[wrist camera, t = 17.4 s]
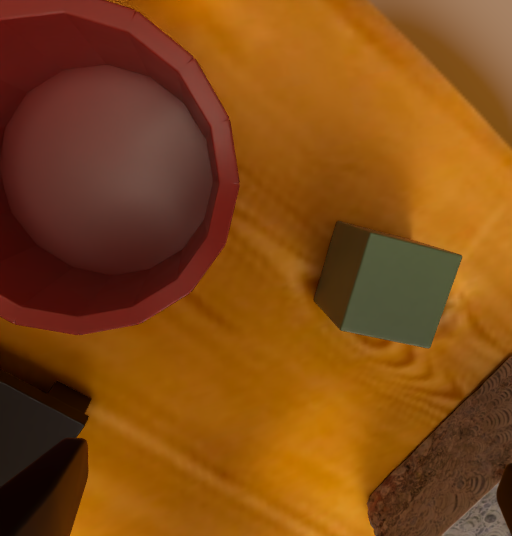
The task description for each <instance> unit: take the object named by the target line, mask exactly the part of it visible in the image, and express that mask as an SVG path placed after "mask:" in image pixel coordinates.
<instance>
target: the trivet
mask: <svg viewBox="0 0 512 536" xmlns="http://www.w3.org/2000/svg"><path fill="white" fill-rule="evenodd" d="M90 402H91V398H89V397H87V396H85V395H83V394H82V393H80V392H78V391H76V390H74V389H72V388H71V387H69V386H67V385H65V384H63V383H61V382H60V381H56V382H55V384H54V385H53V387H52V388H51V389H50V391H49V392H48V394H46V393H44V392H43V391H41V390H39V389H37V388H35V387H33V386H31V385H29V384H28V383H26V382H24V381H22V380H20V379H18V378H16V377H14V376H13V375H11V374H9V373H7V372H5V371H3V370H1V369H0V487H1V486H2V485H4V484H5V483H6V482H8V481H9V480H10V479H12V478H13V477H14V476H16V475H17V474H18V473H19V472H21V471H22V470H23V469H25V468H26V467H27V466H29V465H30V464H31V463H33V462H34V461H35V460H37V459H38V458H39V457H41V456H42V455H43V454H44V453H46V452H47V451H48V450H50V449H51V448H52V447H54V446H55V445H56V444H58V443H59V442H60V441H62V440H63V439H65V438H76V437H77V436H78V434H79V433H80V432H81V430H82V429H83V427H84V426H85V424H86V422H87V420H88V417H89V416H88V415H86V414H85V412H86V410H87V408H88V406H89V404H90Z"/></svg>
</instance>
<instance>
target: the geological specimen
mask: <svg viewBox="0 0 512 536" xmlns="http://www.w3.org/2000/svg"><path fill="white" fill-rule="evenodd" d="M509 463H512V356H511V357H510V358H509V359H508V360H507V361H506V362H505V363H504V364H503V365H502V366H501V367H500V368H499V369H498V370H497V371H496V372H495V373H494V374H493V375H492V376H491V377H489V378H488V379H487V380H486V381H485V382H484V384H483V385H482V386H481V387H480V388H479V389H478V390H477V391H476V392H475V393H473V394H472V395H471V396H470V397H469V398H468V399H467V400H465V401H464V402H463V403H462V404H461V405H460V406H459V407H458V408H457V409H456V410H455V411H454V412H453V413H452V414H451V415H450V416H449V417H448V418H447V419H446V420H445V421H444V422H443V423H442V424H441V425H440V426H439V427H438V428H437V429H436V430H435V431H434V432H433V433H432V434H431V435H430V436H429V437H428V438H427V439H426V440H425V441H424V442H423V443H422V444H421V445H420V446H419V447H418V448H417V449H416V450H415V451H414V452H413V453H412V454H411V456H410V457H409V458H407V459H406V460H405V461H404V462H403V463H402V464H401V465H400V466H399V467H398V468H397V469H395V470H394V471H393V472H392V473H391V474H390V475H389V476H388V477H387V478H386V479H385V481H384V482H383V483H382V484H381V485H380V486H379V487H378V488H377V489H376V490H375V491H374V492H373V493H372V495H371V496H370V498H369V500H368V502H367V506H368V518H369V521H370V524H371V526H372V527H373V528H374V533H375V535H376V536H511V534H510V531H509V529H508V527H507V524H506V522H505V519H504V517H503V515H502V512H501V510H500V508H499V505H498V502H497V498H496V491H497V488H498V485H499V482H500V480H501V477H502V474H503V472H504V469H505V467H506V465H507V464H509Z"/></svg>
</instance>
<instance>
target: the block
mask: <svg viewBox="0 0 512 536" xmlns="http://www.w3.org/2000/svg"><path fill="white" fill-rule="evenodd" d="M461 259H462V256H461V255H459V254H456V253H453V252H450V251H447V250H443V249H440V248H437V247H434V246H430V245H427V244H424V243H421V242H417V241H414V240H411V239H407V238H403V237H399V236H395V235H391V234H387V233H384V232H380V231H376V230H372V229H368V228H364V227H360V226H356V225H352V224H349V223H345V222H341V221H337V222H336V225H335V229H334V232H333V236H332V239H331V242H330V246H329V249H328V253H327V256H326V260H325V263H324V266H323V270H322V273H321V277H320V280H319V283H318V287H317V290H316V294H315V297H314V302H315V303H316V304H317V305H318V306H319V307H320V308H321V309H322V310H323V311H324V313H325V314H326V315H327V316H328V317H329V318H330V319H331V320H332V321H333V322H334V324H335V325H336V326H337V327H338V328H339V329H340V330H341V331H346V332H351V333H356V334H360V335H365V336H370V337H375V338H380V339H385V340H390V341H394V342H399V343H404V344H409V345H414V346H419V347H424V348H430V347H431V344H432V341H433V338H434V335H435V333H436V330H437V327H438V324H439V321H440V318H441V316H442V313H443V310H444V307H445V304H446V301H447V299H448V296H449V293H450V290H451V287H452V285H453V282H454V279H455V276H456V273H457V270H458V268H459V265H460V262H461Z"/></svg>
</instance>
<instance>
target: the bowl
mask: <svg viewBox="0 0 512 536" xmlns="http://www.w3.org/2000/svg"><path fill="white" fill-rule="evenodd" d="M239 182H240V181H239V175H238V168H237V162H236V155H235V149H234V142H233V136H232V129H231V122H230V120H229V116H228V115H227V113H226V111H225V109H224V108H223V106H222V104H221V102H220V101H219V99H218V97H217V96H216V94H215V92H214V90H213V89H212V87H211V85H210V83H209V82H208V80H207V78H206V76H205V75H204V73H203V71H202V69H201V68H200V66H199V64H198V62H197V61H196V59H193V56H192V55H191V54H190V53H188V52H187V51H186V50H185V49H183V48H182V47H181V46H180V45H179V44H177V43H176V42H175V41H174V40H172V39H171V38H170V37H169V36H168V35H166V34H165V33H164V32H163V31H161V30H160V29H159V28H158V27H156V26H155V25H154V24H153V23H152V22H150V21H149V20H148V19H147V18H145V17H144V16H143V15H142V14H140V13H139V12H136V11H135V10H134V9H131V8H128V7H125V6H121V5H118V4H115V3H112V2H109V1H106V0H0V317H2V318H4V319H6V320H8V321H9V322H11V323H15V324H16V325H21V326H27V327H33V328H39V329H45V330H50V331H56V332H62V333H68V334H74V335H84V334H89V333H94V332H100V331H105V330H111V329H116V328H122V327H127V326H133V325H138V324H139V323H143V322H144V321H146V320H147V319H149V318H151V317H152V316H154V315H156V314H157V313H159V312H160V311H162V310H164V309H165V308H167V307H168V306H170V305H172V304H173V303H175V302H177V301H178V300H180V299H181V298H183V297H185V296H186V295H188V294H189V293H190V292H192V290H193V289H194V288H195V286H196V285H197V284H198V282H199V281H200V279H201V278H202V277H203V275H204V274H205V273H206V271H207V270H208V268H209V267H210V266H211V264H212V263H213V261H214V260H215V259H216V257H217V256H218V255H219V253H220V252H221V250H222V249H223V248H224V246H225V244H226V241H227V237H228V233H229V229H230V225H231V220H232V216H233V212H234V208H235V203H236V199H237V195H238V191H239Z"/></svg>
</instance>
